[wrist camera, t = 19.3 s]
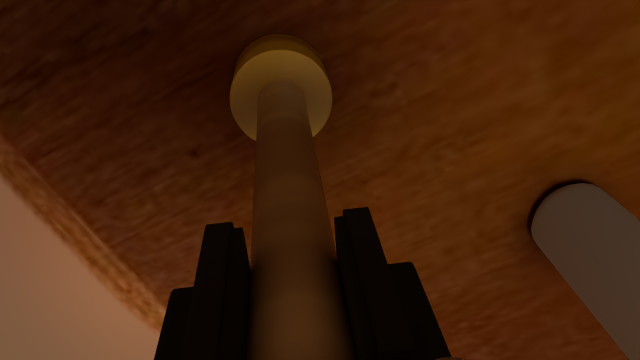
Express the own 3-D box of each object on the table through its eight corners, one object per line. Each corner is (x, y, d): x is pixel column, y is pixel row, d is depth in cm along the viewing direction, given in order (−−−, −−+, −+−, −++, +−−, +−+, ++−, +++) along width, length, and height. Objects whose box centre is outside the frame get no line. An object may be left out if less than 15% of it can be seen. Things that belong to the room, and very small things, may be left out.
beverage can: (527, 254, 30) (663, 436, 20) (524, 190, 28) (678, 358, 18) (604, 235, 30) (782, 408, 20) (607, 168, 28) (812, 325, 17)
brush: (226, 38, 22) (84, 486, 5) (322, 29, 23) (508, 429, 5) (241, 127, 25) (177, 658, 7) (328, 117, 25) (474, 613, 7)
